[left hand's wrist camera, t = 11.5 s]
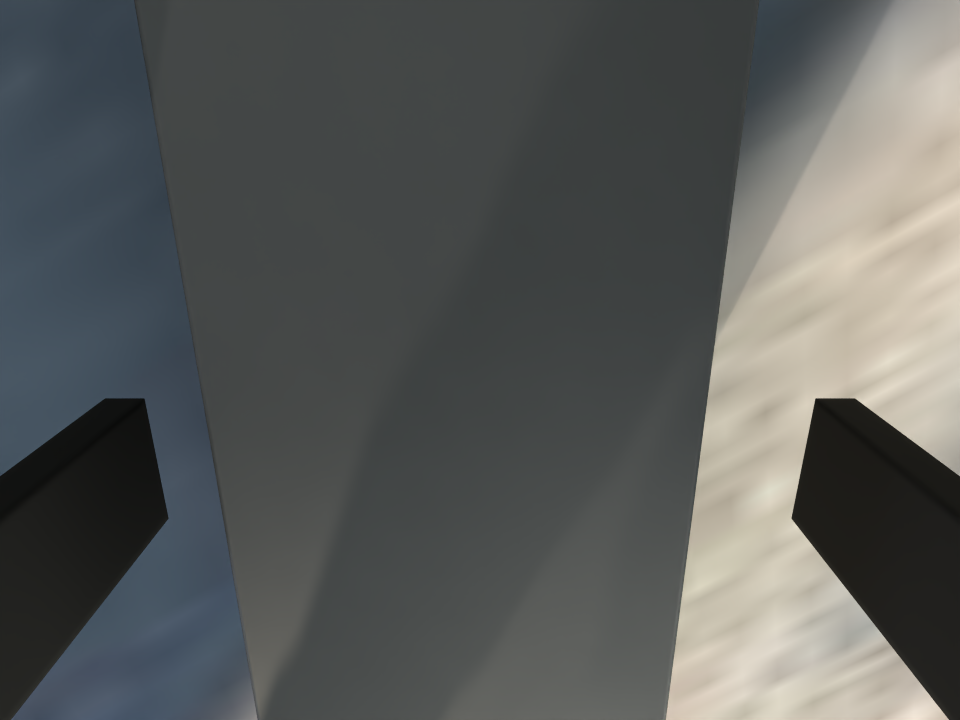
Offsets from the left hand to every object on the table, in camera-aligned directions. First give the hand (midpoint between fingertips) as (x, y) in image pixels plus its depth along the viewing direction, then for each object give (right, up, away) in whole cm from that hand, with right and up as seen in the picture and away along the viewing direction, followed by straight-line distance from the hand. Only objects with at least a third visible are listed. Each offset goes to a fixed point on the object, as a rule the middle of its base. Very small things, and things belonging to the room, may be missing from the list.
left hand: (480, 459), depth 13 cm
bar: (0, +31, -8) cm, 32 cm away
